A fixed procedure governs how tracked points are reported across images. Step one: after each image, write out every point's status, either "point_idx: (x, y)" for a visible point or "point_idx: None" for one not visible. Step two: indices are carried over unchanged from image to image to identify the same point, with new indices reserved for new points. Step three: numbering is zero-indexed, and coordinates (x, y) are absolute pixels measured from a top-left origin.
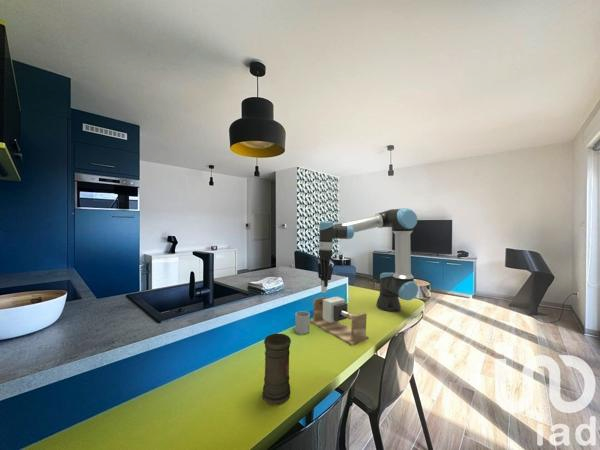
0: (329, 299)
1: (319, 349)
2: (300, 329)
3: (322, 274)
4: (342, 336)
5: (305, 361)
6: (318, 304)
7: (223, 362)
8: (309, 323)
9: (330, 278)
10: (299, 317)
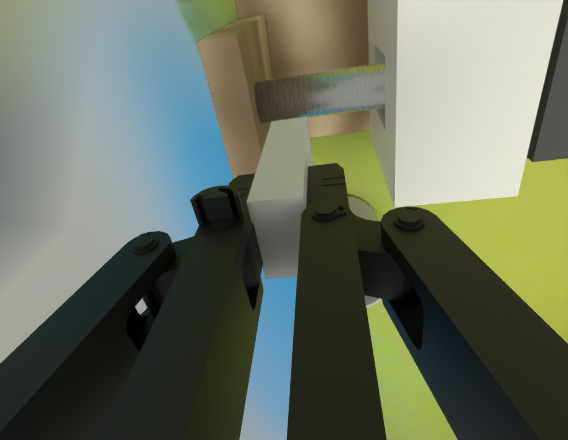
0: (433, 151)
1: (518, 238)
2: None
3: (247, 365)
4: None
5: (534, 306)
6: (266, 133)
7: (385, 423)
8: None
9: (447, 241)
10: (368, 302)
